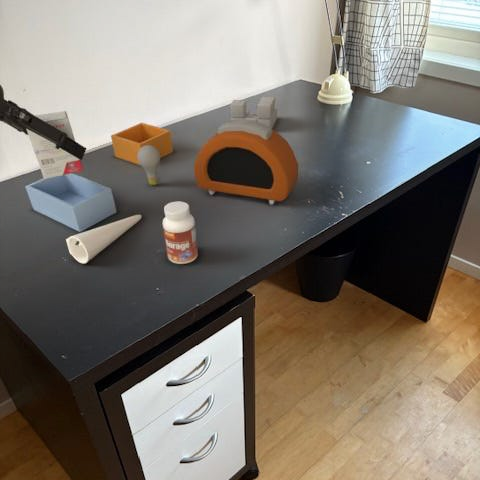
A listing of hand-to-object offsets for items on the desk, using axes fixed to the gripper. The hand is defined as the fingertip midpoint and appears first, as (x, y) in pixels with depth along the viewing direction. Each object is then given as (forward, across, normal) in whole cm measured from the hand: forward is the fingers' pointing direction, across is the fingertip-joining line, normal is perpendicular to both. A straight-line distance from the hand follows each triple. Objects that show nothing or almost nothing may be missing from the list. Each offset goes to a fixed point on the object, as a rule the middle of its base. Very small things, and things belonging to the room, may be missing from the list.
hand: (70, 149), depth 105 cm
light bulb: (+22, +6, +2) cm, 22 cm away
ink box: (0, 0, -5) cm, 5 cm away
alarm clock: (+29, +28, +9) cm, 41 cm away
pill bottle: (+8, +34, -11) cm, 37 cm away
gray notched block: (+55, +3, +35) cm, 65 cm away
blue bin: (+7, 0, -12) cm, 14 cm away
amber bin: (+30, -10, +11) cm, 33 cm away
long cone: (+5, +18, -14) cm, 24 cm away
